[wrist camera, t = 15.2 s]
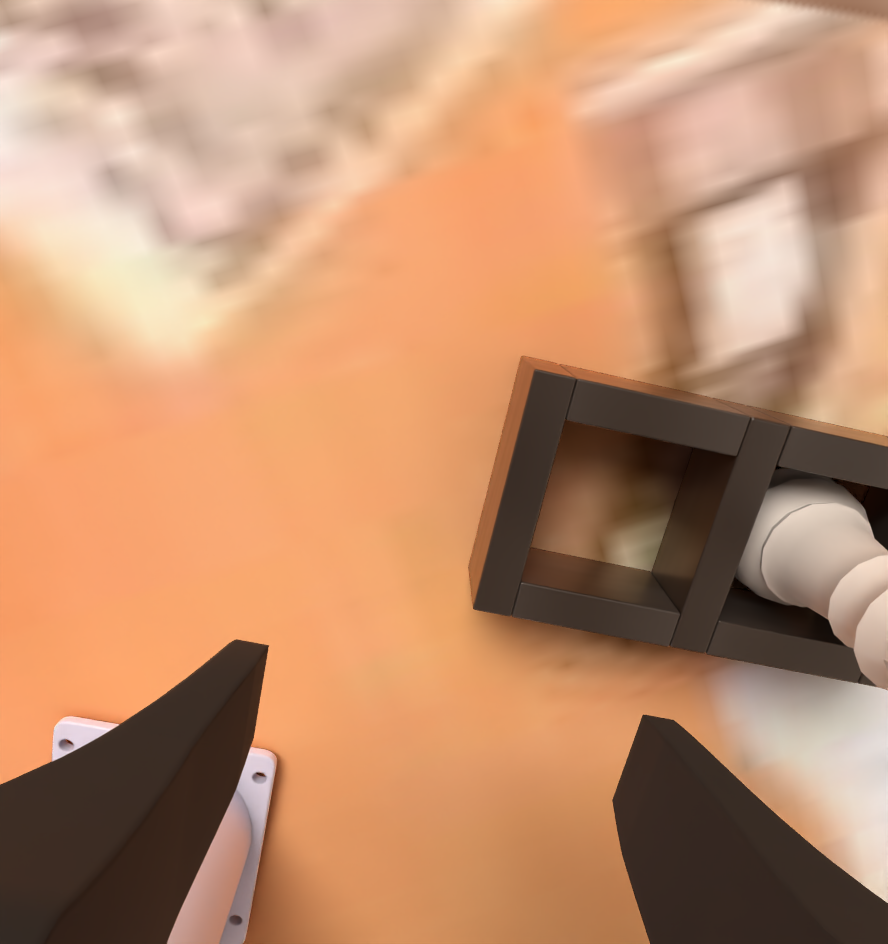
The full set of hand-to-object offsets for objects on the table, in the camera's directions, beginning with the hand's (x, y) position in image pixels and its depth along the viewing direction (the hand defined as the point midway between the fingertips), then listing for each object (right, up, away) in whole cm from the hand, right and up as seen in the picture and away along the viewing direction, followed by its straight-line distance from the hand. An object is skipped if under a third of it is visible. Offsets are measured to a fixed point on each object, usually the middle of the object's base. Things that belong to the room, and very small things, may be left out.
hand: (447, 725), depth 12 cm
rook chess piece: (+11, +3, +10) cm, 16 cm away
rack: (+8, +4, +10) cm, 13 cm away
